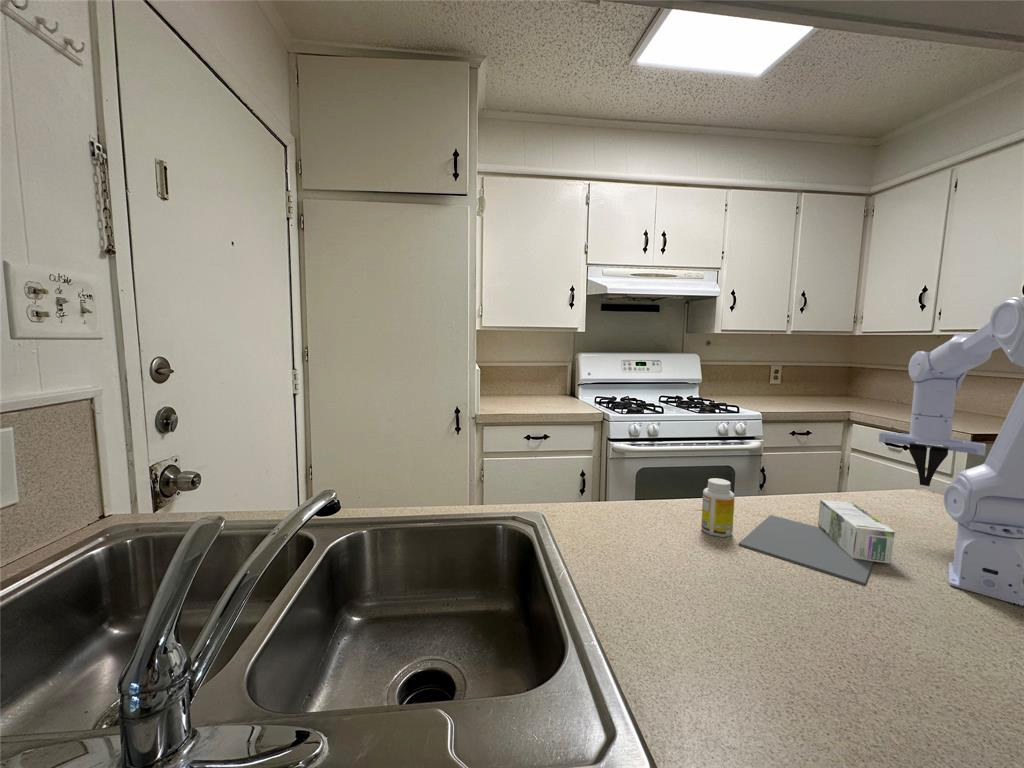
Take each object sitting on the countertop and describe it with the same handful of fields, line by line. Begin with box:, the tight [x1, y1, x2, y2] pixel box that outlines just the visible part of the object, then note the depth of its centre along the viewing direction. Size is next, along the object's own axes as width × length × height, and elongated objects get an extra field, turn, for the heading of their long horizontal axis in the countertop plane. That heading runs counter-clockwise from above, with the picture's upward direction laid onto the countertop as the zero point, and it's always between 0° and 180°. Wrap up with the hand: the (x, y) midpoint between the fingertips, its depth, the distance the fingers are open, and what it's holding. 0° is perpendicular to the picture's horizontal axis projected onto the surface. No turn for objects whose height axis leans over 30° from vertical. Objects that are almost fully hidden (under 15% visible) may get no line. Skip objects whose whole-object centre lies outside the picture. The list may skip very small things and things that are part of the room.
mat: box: [738, 514, 875, 586], centre depth 79 cm, size 20×18×1 cm
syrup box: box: [817, 499, 896, 564], centre depth 79 cm, size 6×6×14 cm
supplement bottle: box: [701, 477, 735, 538], centre depth 83 cm, size 6×6×10 cm
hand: (924, 484), depth 83 cm, fingers closed
